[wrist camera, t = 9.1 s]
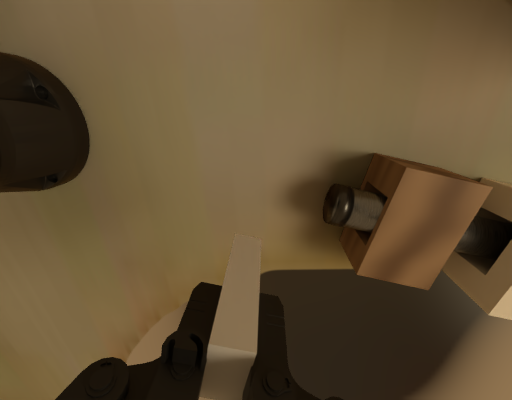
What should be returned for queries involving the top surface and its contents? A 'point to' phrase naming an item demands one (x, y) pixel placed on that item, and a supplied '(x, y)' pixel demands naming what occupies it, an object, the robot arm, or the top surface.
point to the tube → (371, 205)
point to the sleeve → (413, 221)
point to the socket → (488, 260)
